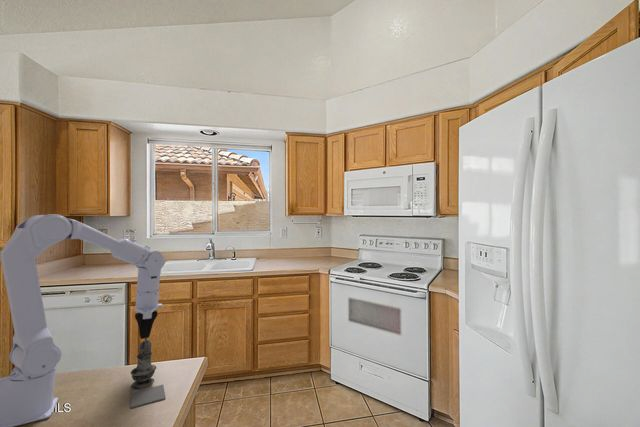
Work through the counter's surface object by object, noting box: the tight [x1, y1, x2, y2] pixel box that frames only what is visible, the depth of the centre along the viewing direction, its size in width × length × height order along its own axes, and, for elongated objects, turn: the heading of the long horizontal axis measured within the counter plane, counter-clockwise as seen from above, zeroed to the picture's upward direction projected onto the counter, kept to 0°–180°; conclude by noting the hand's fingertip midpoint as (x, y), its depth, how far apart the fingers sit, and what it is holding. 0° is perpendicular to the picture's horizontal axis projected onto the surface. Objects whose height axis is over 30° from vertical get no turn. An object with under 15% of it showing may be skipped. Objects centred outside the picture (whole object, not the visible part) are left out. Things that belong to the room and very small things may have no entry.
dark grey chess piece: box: [130, 338, 157, 390], centre depth 74 cm, size 6×6×12 cm
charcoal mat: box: [130, 384, 166, 409], centre depth 68 cm, size 7×7×1 cm
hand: (144, 337), depth 81 cm, fingers closed
